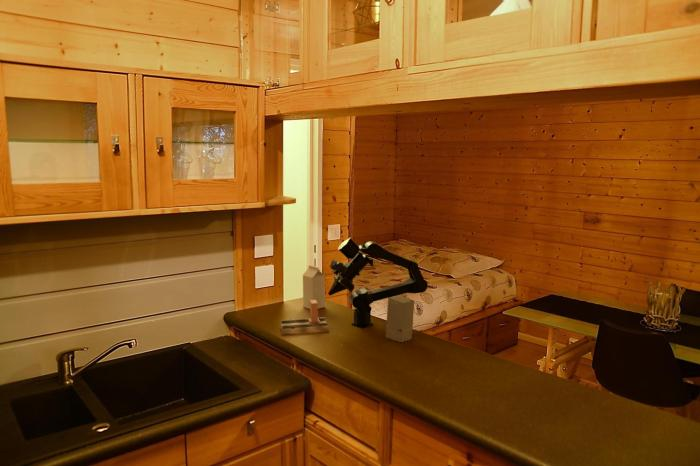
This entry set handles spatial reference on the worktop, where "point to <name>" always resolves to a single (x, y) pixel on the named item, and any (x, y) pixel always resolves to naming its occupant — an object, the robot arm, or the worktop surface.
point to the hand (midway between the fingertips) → (328, 294)
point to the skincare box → (399, 318)
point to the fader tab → (313, 312)
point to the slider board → (303, 326)
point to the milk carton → (313, 287)
